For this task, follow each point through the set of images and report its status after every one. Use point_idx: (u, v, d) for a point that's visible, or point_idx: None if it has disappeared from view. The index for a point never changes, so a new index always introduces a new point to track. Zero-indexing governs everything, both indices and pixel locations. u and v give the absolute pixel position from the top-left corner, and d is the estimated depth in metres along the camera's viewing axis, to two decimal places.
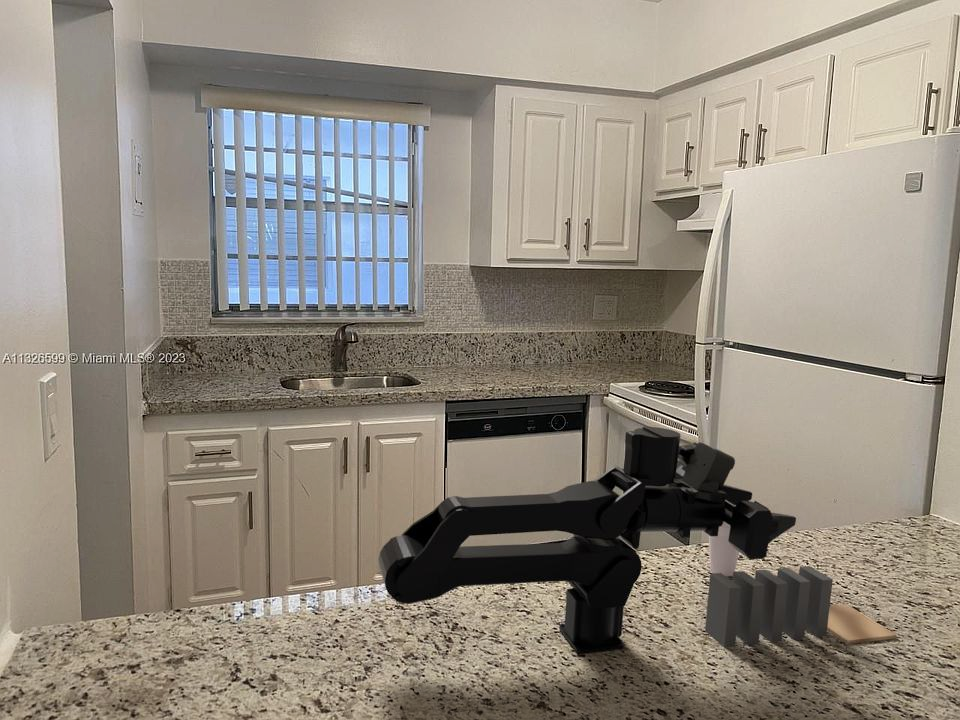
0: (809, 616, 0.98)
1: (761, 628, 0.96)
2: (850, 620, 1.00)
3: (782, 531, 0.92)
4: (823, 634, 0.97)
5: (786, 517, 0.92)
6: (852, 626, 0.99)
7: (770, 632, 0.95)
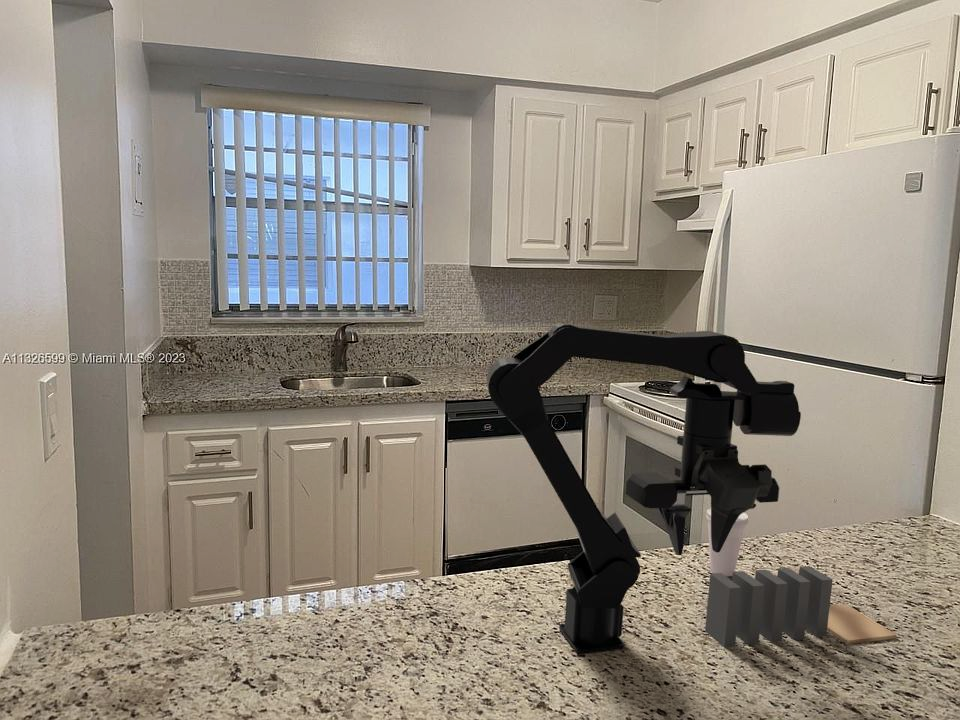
0: (809, 616, 0.98)
1: (761, 628, 0.96)
2: (850, 620, 1.00)
3: (669, 533, 0.92)
4: (823, 634, 0.97)
5: (677, 541, 0.90)
6: (852, 626, 0.99)
7: (770, 632, 0.95)
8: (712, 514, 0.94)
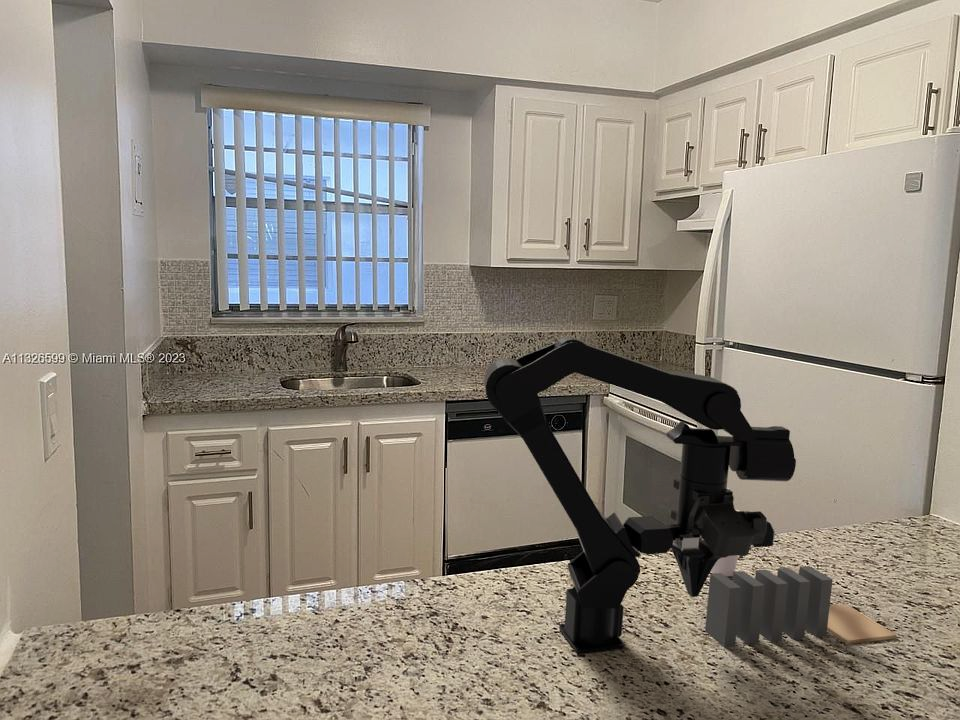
0: (809, 616, 0.98)
1: (761, 628, 0.96)
2: (850, 620, 1.00)
3: (682, 575, 0.93)
4: (823, 634, 0.97)
5: (690, 583, 0.92)
6: (852, 626, 0.99)
7: (770, 632, 0.95)
8: None
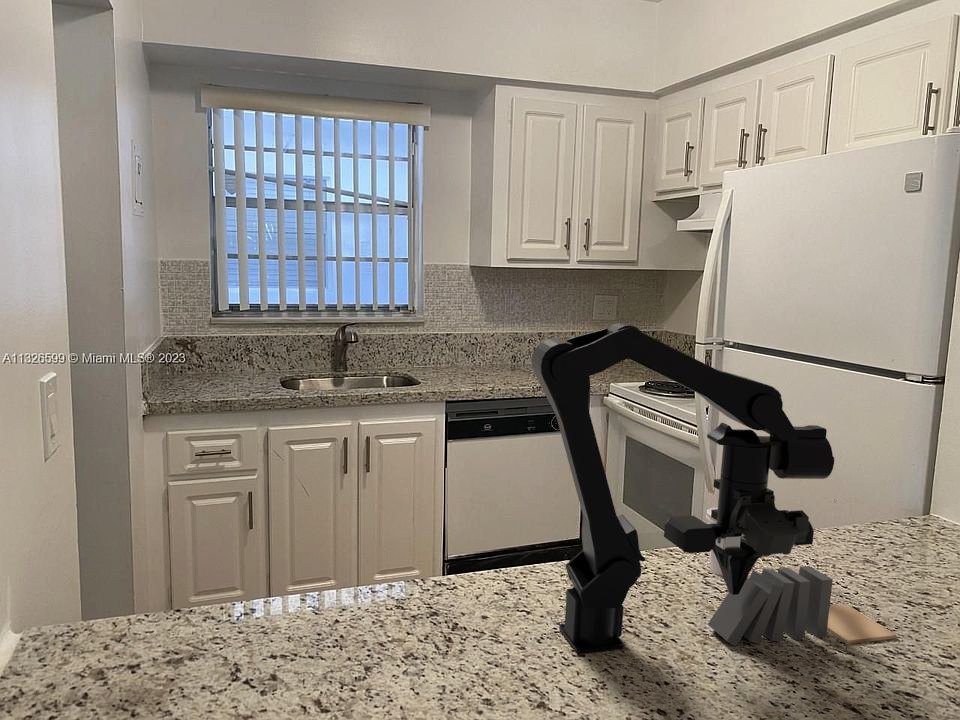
0: (809, 616, 0.98)
1: None
2: (850, 620, 1.00)
3: (723, 573, 0.95)
4: (823, 634, 0.97)
5: (731, 582, 0.93)
6: (852, 626, 0.99)
7: (771, 631, 0.95)
8: None
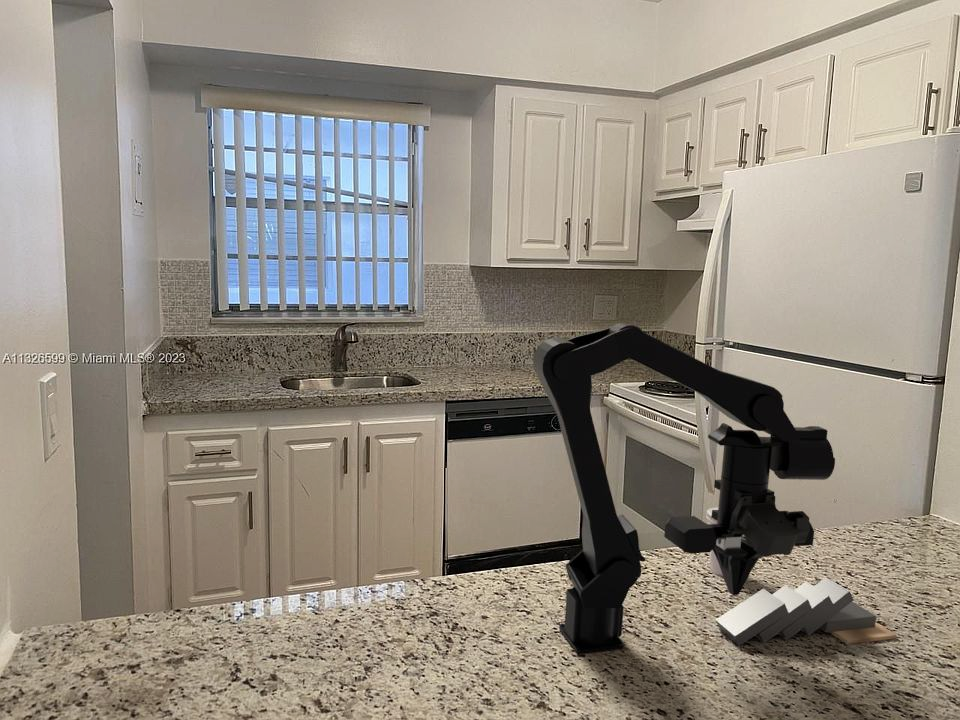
0: None
1: None
2: None
3: (723, 573, 0.95)
4: (828, 629, 0.97)
5: (732, 582, 0.93)
6: None
7: None
8: None
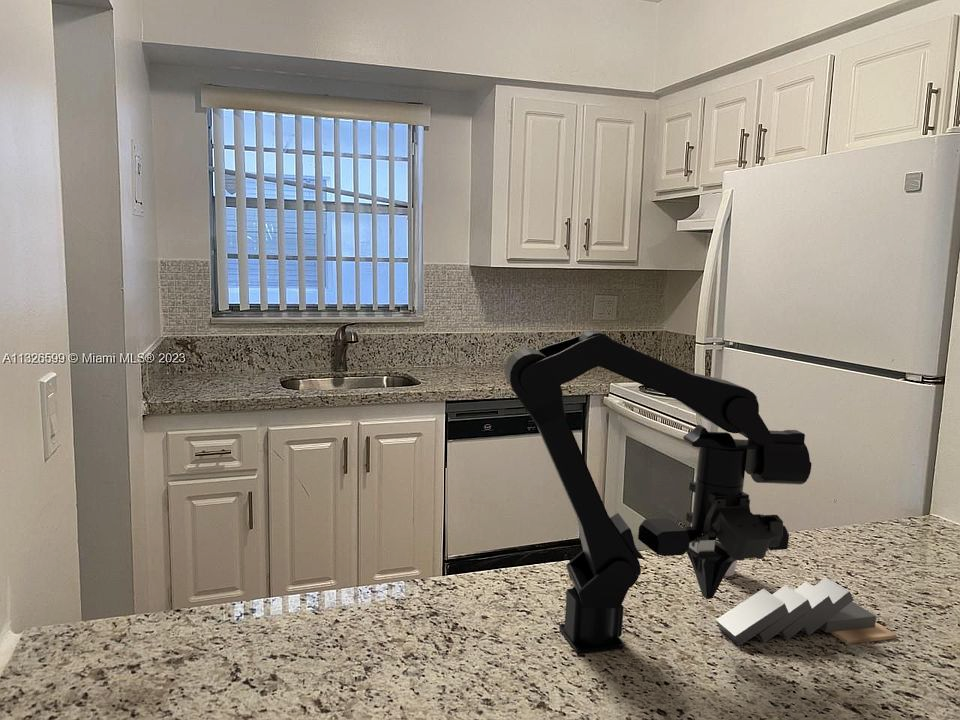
0: None
1: None
2: None
3: (697, 577, 0.94)
4: (828, 629, 0.97)
5: (705, 585, 0.92)
6: None
7: None
8: None
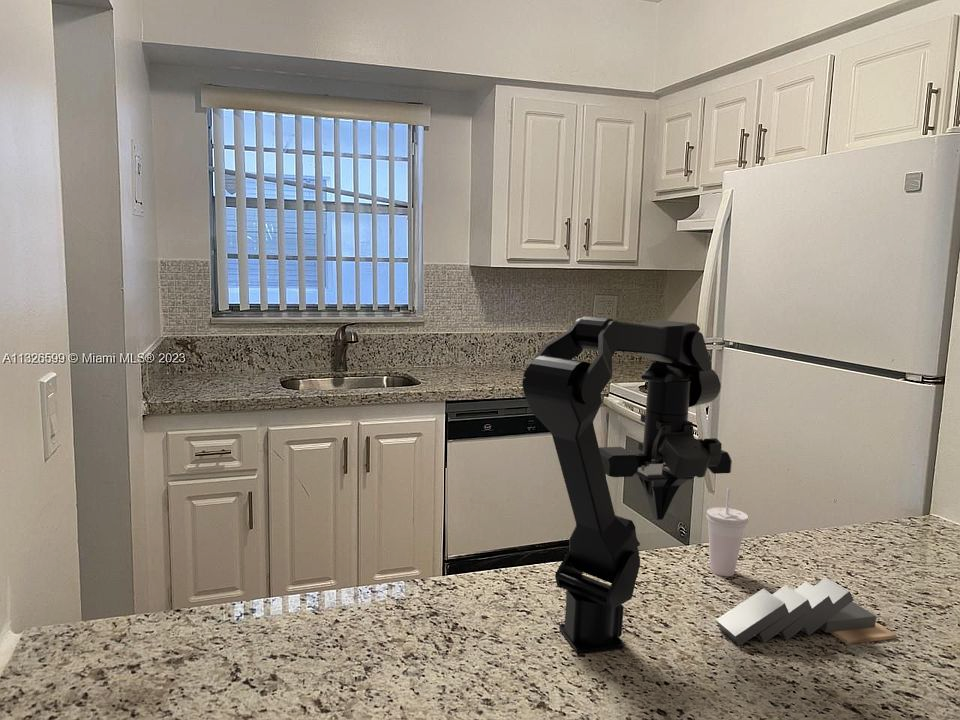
0: None
1: None
2: None
3: (649, 500, 1.03)
4: (828, 629, 0.97)
5: (655, 507, 1.01)
6: None
7: None
8: None
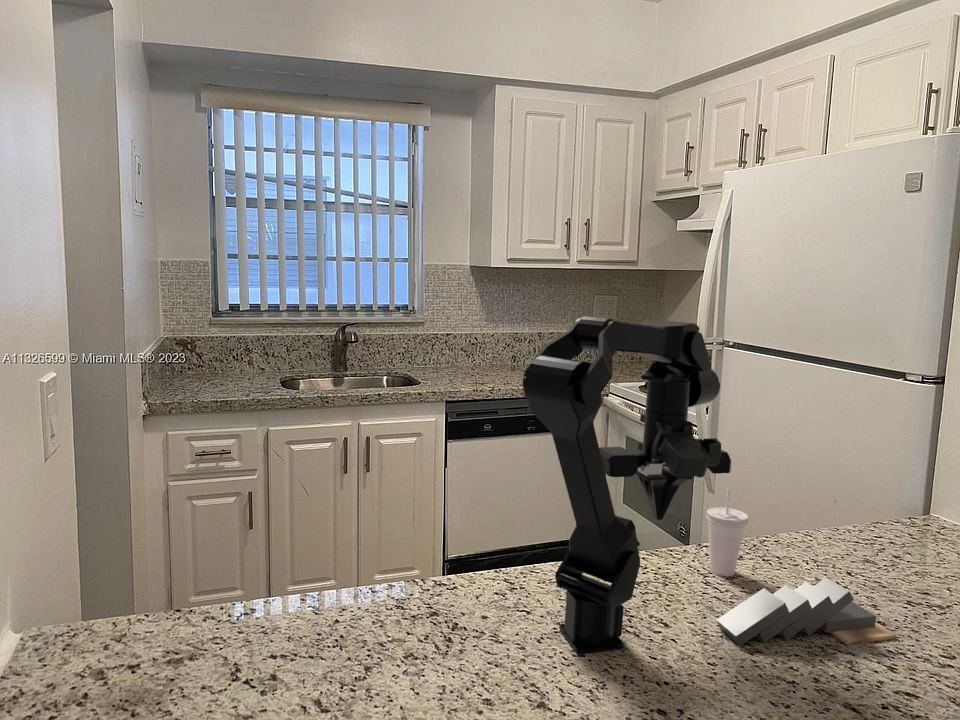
0: None
1: None
2: None
3: (648, 500, 1.03)
4: (828, 629, 0.97)
5: (655, 507, 1.01)
6: None
7: None
8: None
